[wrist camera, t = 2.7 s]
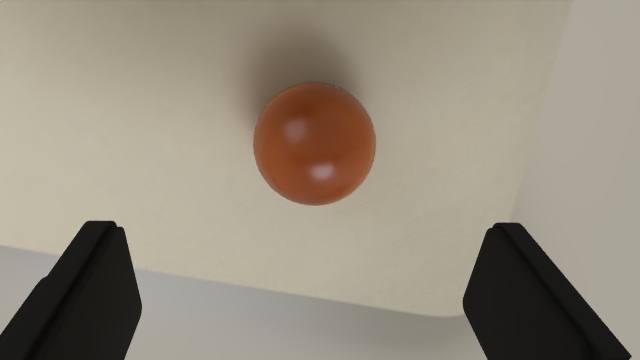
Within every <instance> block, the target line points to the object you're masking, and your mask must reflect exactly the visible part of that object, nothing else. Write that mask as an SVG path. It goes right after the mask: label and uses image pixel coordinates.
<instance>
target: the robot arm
mask: <svg viewBox="0 0 640 360" xmlns="http://www.w3.org/2000/svg"><path fill="white" fill-rule="evenodd" d="M463 309H464V312H465V314H466V316H467V318H468V320H469V322H470V324H471V326H472V328H473V331H474V332H475V335H476V336H477V339H478V341H479V343H480V345H481V347H482V349H483V351H484V353H485V355H486V357H487V359H488V360H629V359H630V358H631V355H630V354H629V352H628V351H627V350H626V349H625V348H624V346H623V345H622V344H621V343H620V342H619V340H618V339H617V338H616V337H615V336H614V335H613V333H612V332H611V331H610V330H609V328H608V327H607V326H606V325H605V324H604V322H602V320H601V319H600V318H599V317H598V315H597V314H596V313H595V312H594V311H593V309H592V308H591V307H590V306H589V305H588V304H587V302H586V301H585V300H584V299H583V297H582V296H581V295H580V294H579V293H578V291H577V290H576V289H575V288H574V287H573V286H572V285H571V283H570V282H569V281H568V279H567V278H566V277H565V276H564V275H563V274H562V272H561V271H560V270H559V269H558V268H557V266H556V265H555V264H554V263H553V262H552V260H551V259H550V258H549V257H548V256H547V255H546V253H545V252H544V251H543V250H542V248H541V247H540V246H539V245H538V244H537V243H536V241H535V240H534V239H533V238H532V236H531V235H530V234H529V233H528V232H527V230H526V229H525V228H524V227H523V226H522V225H521V224H520V223H495V224H494V225H493V227H492V228H489V229H488V230H487V232H486V234H485V237H484V240H483V243H482V246H481V249H480V251H479V254H478V257H477V260H476V263H475V266H474V269H473V271H472V274H471V277H470V280H469V283H468V286H467V288H466V291H465V294H464V297H463ZM141 311H142V303H141V298H140V294H139V290H138V287H137V282H136V277H135V273H134V269H133V265H132V261H131V256H130V252H129V248H128V244H127V240H126V235H125V231H124V229H123V227H117V225H116V223H115V222H114V221H87V222H86V223H85V224H84V225H83V226H82V228H81V229H80V230H79V232H78V233H77V235H76V236H75V237H74V239H73V240H72V242H71V243H70V245H69V246H68V247H67V249H66V250H65V252H64V253H63V254H62V256H61V257H60V259H59V260H58V262H57V263H56V264H55V266H54V267H53V269H52V270H51V271H50V273H49V274H48V276H46V277H45V278H43V279H41V280H40V282H38V284H37V285H36V286H35V288H34V289H33V290H32V292H31V293H30V295H29V296H28V297H27V299H26V300H25V302H24V303H23V304H22V306H21V307H20V308H19V310H18V311H17V313H16V314H15V315H14V317H13V318H12V319H11V321H10V322H9V324H8V325H7V327H6V328H5V329H4V331H3V332H2V333H1V335H0V360H124V359H125V356H126V353H127V350H128V348H129V346H130V343H131V340H132V338H133V335H134V332H135V330H136V327H137V324H138V322H139V319H140V316H141Z"/></svg>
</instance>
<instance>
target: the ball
mask: <svg viewBox="0 0 640 360" xmlns="http://www.w3.org/2000/svg"><path fill="white" fill-rule="evenodd" d="M253 149H254V156H255V160H256V164H257V166H258V169H259V171H260V173H261V175H262V176H263V178H264V180H265V181H266V182H267V183H268V185H269V186H270V187H271V188H272V189H273V190H274V191H276V192H277V193H278V194H280V195H281V196H283V197H284V198H286V199H288V200H290V201H293V202H296V203H299V204H304V205H313V206H316V205H326V204H330V203H334V202H336V201H339V200H341V199H343V198H345V197H347V196H348V195H350V194H351V193H352V192H354V191H355V190H356V189H357V188H358V187H359V186H360V185H361V184H362V182H363V181H364V180H365V178H366V177H367V175H368V173H369V171H370V169H371V167H372V164H373V161H374V157H375V150H376V137H375V132H374V127H373V124H372V121H371V119H370V117H369V115H368V113H367V111H366V110H365V108H364V107H363V106H362V104H361V103H360V102H359V101H358V100H357V99H356V98H355V97H353V96H352V95H351V94H349V93H348V92H347V91H345V90H343V89H341V88H339V87H336V86H334V85H330V84H326V83H318V82H315V83H303V84H299V85H295V86H293V87H290V88H288V89H286V90H284V91H283V92H281V93H279V94H278V95H277V96H276V97H274V98H273V99H272V100H271V101H270V102H269V103H268V105H267V106H266V107H265V108H264V110H263V111H262V113H261V115H260V117H259V119H258V122H257V125H256V127H255V132H254V140H253Z"/></svg>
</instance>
